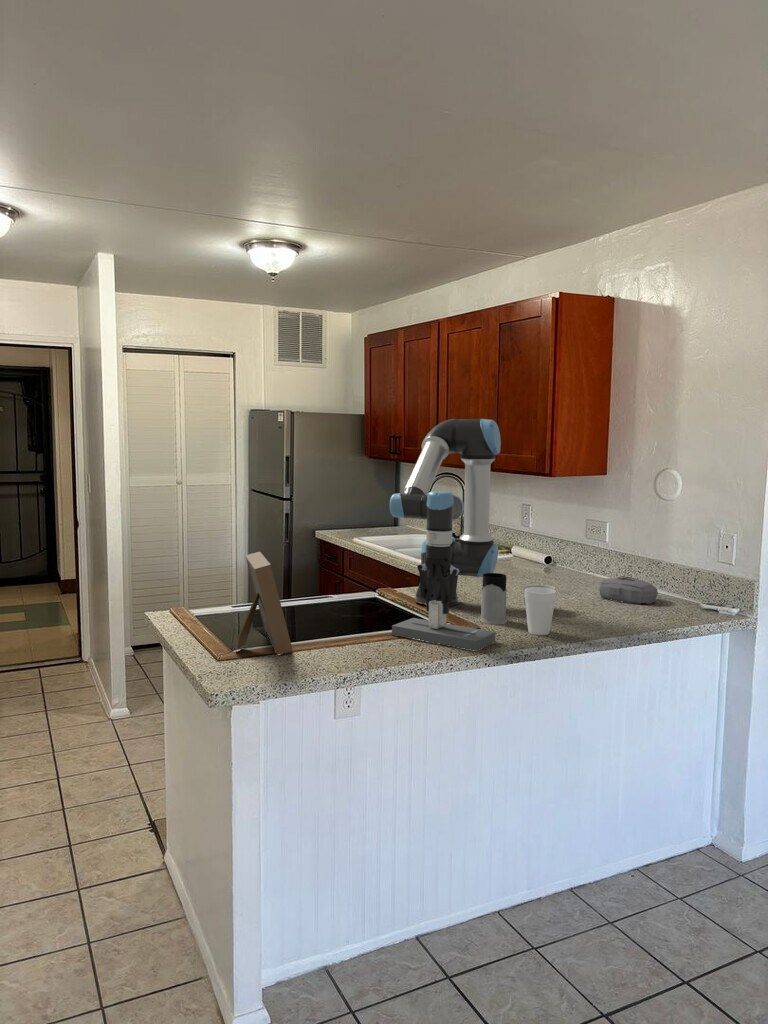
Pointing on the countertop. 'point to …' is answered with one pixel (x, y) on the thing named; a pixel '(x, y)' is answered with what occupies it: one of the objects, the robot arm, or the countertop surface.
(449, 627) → the fader console
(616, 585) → the soft grey pack
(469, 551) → the robot arm
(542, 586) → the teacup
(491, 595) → the glass holder
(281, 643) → the photo frame
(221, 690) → the countertop surface
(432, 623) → the fader knob
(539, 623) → the foam cup
